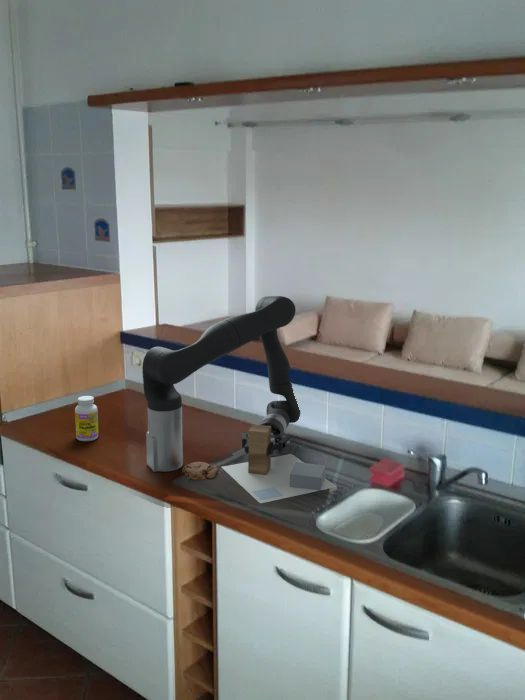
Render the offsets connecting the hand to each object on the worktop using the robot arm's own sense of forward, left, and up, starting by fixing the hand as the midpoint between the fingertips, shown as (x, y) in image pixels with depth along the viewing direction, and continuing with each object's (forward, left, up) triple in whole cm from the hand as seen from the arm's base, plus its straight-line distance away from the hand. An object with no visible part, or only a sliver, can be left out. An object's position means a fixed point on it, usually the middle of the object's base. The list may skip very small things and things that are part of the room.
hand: (257, 451), depth 178 cm
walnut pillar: (+2, +2, -7) cm, 7 cm away
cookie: (-13, +8, -8) cm, 17 cm away
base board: (+4, -3, -8) cm, 9 cm away
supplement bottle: (-34, +48, -8) cm, 60 cm away
